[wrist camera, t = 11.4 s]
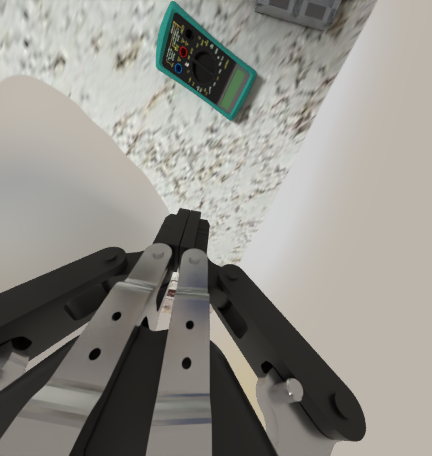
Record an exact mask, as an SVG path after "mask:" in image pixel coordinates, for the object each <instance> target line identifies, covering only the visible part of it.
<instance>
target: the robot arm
mask: <svg viewBox="0 0 432 456" xmlns="http://www.w3.org/2000/svg"><path fill="white" fill-rule="evenodd" d="M200 217H201V212H199V211H193V210H191V211H190V210H188V209H182V208H180V209H179V211H178V213H177V215H175V214H170V215H169V216H167V217H166V218H165V220H164V222H163V224H162V226H161V228H160V230H159V233H158V234H157V236H156V238H155V240H154V242H153V244H152V245H150V246H149V247H147V248H146V249H145V250H144V251H141V252H135V253H125V251H124V250H123V249H121V248H119V247H108V248H105V249H102V250H100V251H98V252H95V253H93V254H91V255H89V256H86V257H84V258H81V259H79V260H77V261H74V262H72V263H70V264H68V265H65V266H63V267H60V268H58V269H56V270H53V271H51V272H49V273H46V274H44V275H42V276H39V277H37V278H35V279H32V280H30V281H28V282H25V283H23V284H21V285H18V286H16V287H14V288H11V289H9V290H7V291H4V292H2V293H0V456H330V454H331V451H332V449H333V447H334V444H335V443H336V442H339V441H342V440H343V441H360V440H361V439H362V438H363V437H364V435H365V432H366V423H365V417H364V414H363V411H362V409H361V407H360V404H359V402H358V401H357V399H356V397H355V396H354V394H353V393H352V392H351V390H350V389H349V388H348V387H347V386H346V385H345V384H344V382H343V381H342V380H341V379H340V378H339V377H338V376H337V375H336V374H335V373H334V371H333V370H332V369H331V368H330V367H329V366H328V365H327V364H326V362H325V361H324V360H323V359H322V358H321V357H320V356H319V355H318V354H317V352H316V351H315V350H314V349H313V348H312V347H311V346H310V345H309V344H308V342H307V341H306V340H305V339H304V338H303V337H302V336H301V335H300V333H299V332H298V331H297V330H296V329H295V328H294V327H293V326H292V325H291V323H289V321H288V320H287V319H286V318H285V317H284V316H283V315H282V313H281V312H280V311H279V310H278V309H277V308H276V307H275V306H274V305H273V304H272V302H271V301H270V300H269V299H268V298H267V297H266V296H265V295H264V293H262V291H261V290H260V289H259V288H258V287H257V286H256V285H255V283H254V282H253V281H252V280H251V279H250V278H249V277H248V276H247V275H246V273H245V272H244V271H243V270H242V269H241V268H240V267H238V266H236V265H233V264H227V265H224V266H223V267H220V266H218V265H216V264H214V263H212V262H211V261H210V260H209V258H208V257H207V245H208V236H209V228H210V225H209V223H208V220H203V219H200ZM178 268H179V269H178ZM177 271H178V273H179V277H178V283H177V288H176V291H175V295H174V301H173V307H172V312H171V319H170V324H169V329H167V330H161V331H155V329H156V326H157V322H158V317H159V314H160V311H161V308H162V306H163V303H164V301H165V298H166V295H167V293H168V290H169V287H170V285H171V277H172V273H173V272H177ZM210 304H211V305H212V307H213V309H214V310H215V312H216V313H217V315H218V317H219V318H220V320H221V321H222V323H223V324H224V326H225V327H226V329H227V330H228V332H229V334H230V335H231V337H232V338H233V340H234V341H235V343H236V344H237V346H238V348H239V349H240V351H241V352H242V354H243V355H244V357H245V358H246V360H247V362H248V363H249V365H250V366H251V368H252V369H253V371H254V372H255V374H256V375H257V377H258V381H257V384H256V397H257V401H258V404H259V406H260V408H261V411H262V413H263V415H264V418H265V423H266V431H265V430H264V428H263V426H262V424H261V422H260V421H259V419H258V417H257V415H256V413H255V411H254V409H253V407H252V405H251V404H250V402H249V400H248V398H247V396H246V394H245V393H244V391H243V389H242V387H241V385H240V383H239V381H238V380H237V378H236V376H235V374H234V372H233V370H232V368H231V367H230V365H229V363H228V361H227V359H226V357H225V356H224V354H223V353H222V351H221V350H220V349H219V348H218V347H217V346H216V345H215V344H214V343H213V342H212V341H211V340H210V338H209V337H210V334H209V333H210V332H209V331H210V322H209V321H210V320H209V318H210V317H209V315H210ZM89 321H90V322H89ZM87 322H89V323H88V325H87V326H86V328H85V329H84V331H83V332H82V333H81V334H80V335H79V336H77V337H75V338H74V339H72V340H71V341H69V342H68V343H66V344H65V345H63V346H62V347H61V348H59V349H58V350H56V351H55V352H54V353H52V354H51V355H50V356H48V357H47V358H45V359H44V360H43V361H41V362H40V363H38V364H37V365H36V366H34V367H33V368H31V369H30V370H29V371H27V372H26V373H25V368H26V366H27V364H28V361H30V360H31V359H33V358H34V357H36V356H38V355H39V354H41V353H42V352H44V351H45V350H47V349H48V348H50V347H51V346H53V345H54V344H55V343H57V342H59V341H60V340H62V339H63V338H65V337H66V336H68V335H69V334H71V333H72V332H74V331H75V330H77V329H78V328H80V327H81V326H83V325H84V324H86V323H87Z"/></svg>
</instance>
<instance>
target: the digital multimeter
mask: <svg viewBox="0 0 432 456" xmlns="http://www.w3.org/2000/svg"><path fill="white" fill-rule="evenodd" d="M178 13H179V14H178ZM191 24H192V25H191ZM156 67H157V69H158V70H160V71H161V72H163V73H164V74H166V75H168V76H169V77H171V78H172V79H174V80H175V81H177V82H178V83H180V84H181V85H183V86H184V87H186V88H187V89H189V90H190V91H192V92H193V93H194V94H196V95H197V96H199V97H200V98H201V99H203V100H204V101H205V102H207V103H208V104H209V105H211V106H212V107H213V108H215V109H216V110H217V111H218V112H220V113H221V114H222V115H223V116H225V117H226V118H227V119H229V120H230V121H232V120H233V119H234V117H235V116H236V114H237V113H238V111H239V109H240V108H241V106H242V104H243V103H244V101H245V99H246V97H247V95H248V93H249V91H250V89H251V87H252V85H253V82H254V80H255V78H256V75H257V73H256V71H255V70H254V69H252V68H251V67H250V66H248V65H247V64H246V63H245V62H243V61H242V60H241V59H239V58H238V57H237V56H235V55H234V54H233V53H232V52H230V51H229V50H228V49H227V48H225V47H224V46H223V45H222V44H221V43H219V42H218V41H217V40H216V39H215V38H213V37H212V36H211V35H210V34H209V33H208V32H207V31H206V30H205V29H203V28H202V27H201V26H200V25H199V24H198V23H197V22H196V21H195V20H194V19H192V18H191V17H190V16H189V15H188V14H187V13H186V12H185V11H184V10H183V9H182V8H181V7H180V6H179V5H178V4H177V3H176V2H174V1H172V2H171V3H170V5H169V7H168V9H167V11H166V14H165V16H164V18H163V21H162V24H161V27H160V31H159V35H158V40H157V50H156ZM168 70H169V71H168ZM249 77H250V78H249ZM194 78H195V79H194Z"/></svg>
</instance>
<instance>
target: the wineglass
mask: <svg viewBox="0 0 432 456" xmlns="http://www.w3.org/2000/svg"><path fill="white" fill-rule="evenodd" d="M178 269H179V268H178ZM178 275H179V273H178V271H177V274H176V277H175V278H171V285H170V287H169V290H168V293H167V295H166V298H165V299H168V300H173V301H174V295H175V291H176V288H177V283H178Z"/></svg>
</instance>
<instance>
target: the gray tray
mask: <svg viewBox="0 0 432 456" xmlns="http://www.w3.org/2000/svg"><path fill="white" fill-rule="evenodd" d="M341 1H342V0H256V5H255V10H254V11H256V12H259V13H263V14H266V15H270V16H273V17H277V18H280V19H284V20H287V21H291V22H294V23H297V24H301V25H304V26H308V27H311V28H315V29H318V30H322V31H323V30H325V29H326V28H328V27H329V26H330V25H332V23H333V20H334V18H335V15H336V13H337V10H338V8H339V6H340V3H341Z"/></svg>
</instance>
